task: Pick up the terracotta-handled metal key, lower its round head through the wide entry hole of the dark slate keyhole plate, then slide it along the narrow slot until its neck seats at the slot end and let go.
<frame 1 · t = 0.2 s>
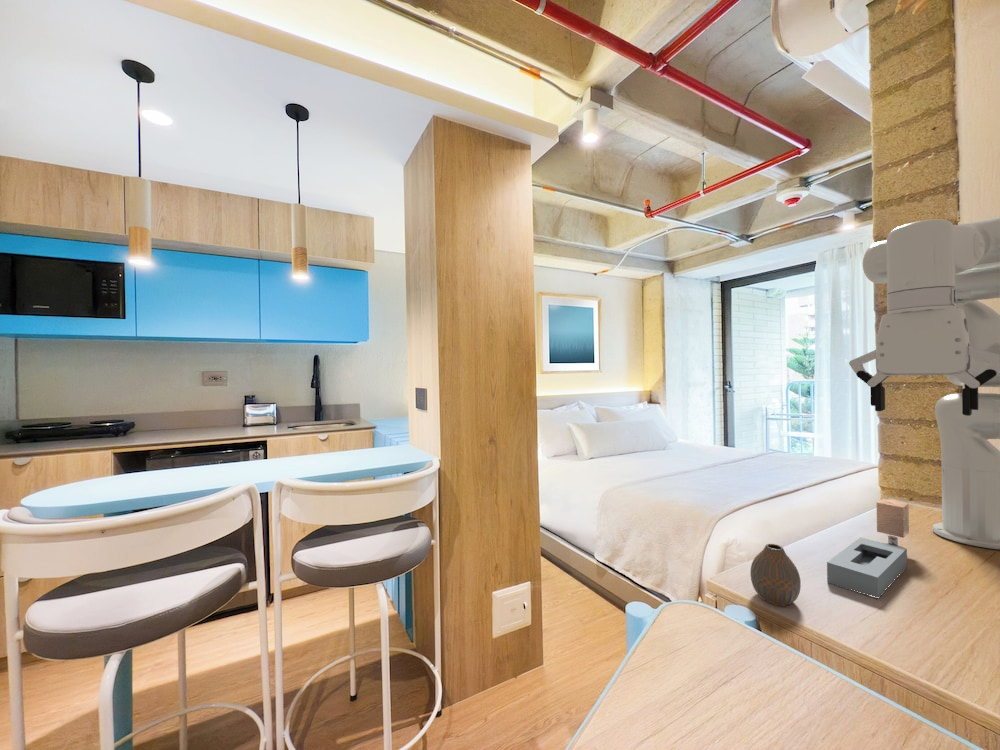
hand: (921, 412, 65), 31 cm above the table, tool pointing down, fingers open, 9 cm apart
key: (893, 551, 85), on the table
vase: (775, 600, 69), on the table
keyhole plate: (868, 574, 76), on the table
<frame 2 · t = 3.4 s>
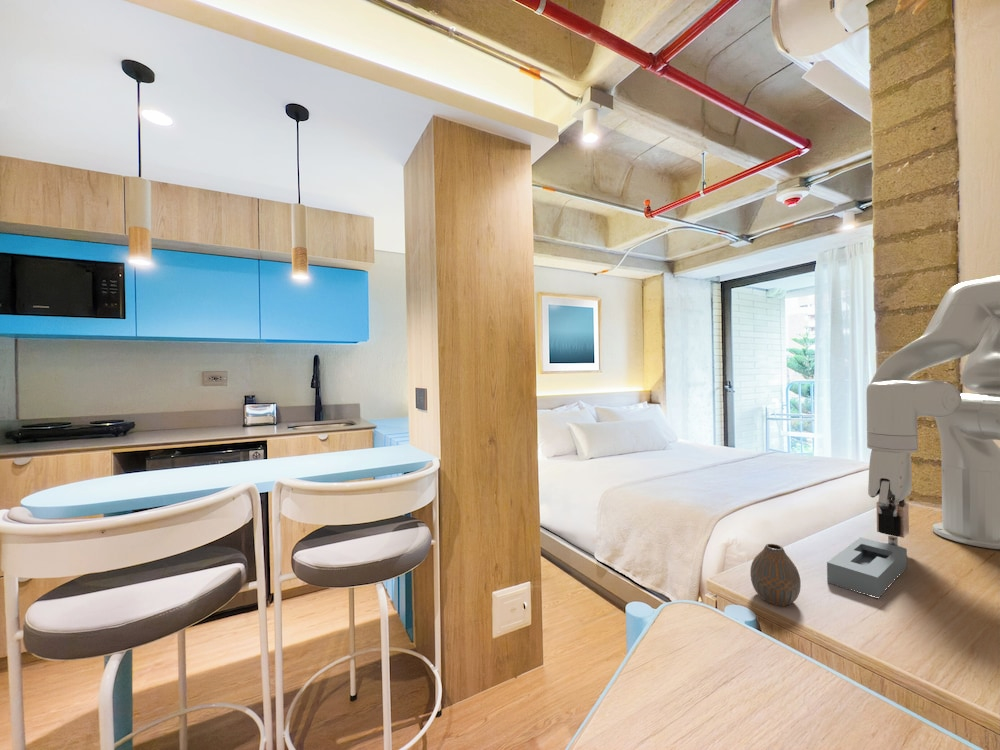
hand: (892, 530, 85), 4 cm above the table, tool pointing down, fingers closed on key, 4 cm apart
key: (893, 551, 85), on the table, touching gripper
everything else where it was.
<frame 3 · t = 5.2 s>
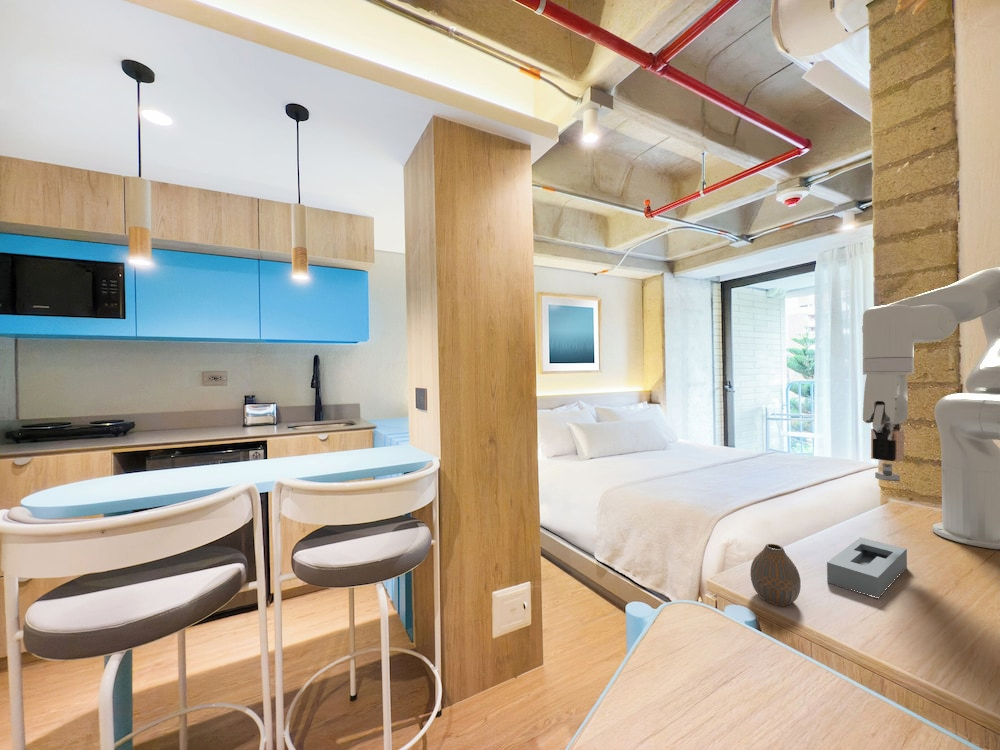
hand: (887, 457, 83), 20 cm above the table, tool pointing down, fingers closed on key, 4 cm apart
key: (887, 478, 84), point 15 cm above the table, touching gripper
everything else where it was.
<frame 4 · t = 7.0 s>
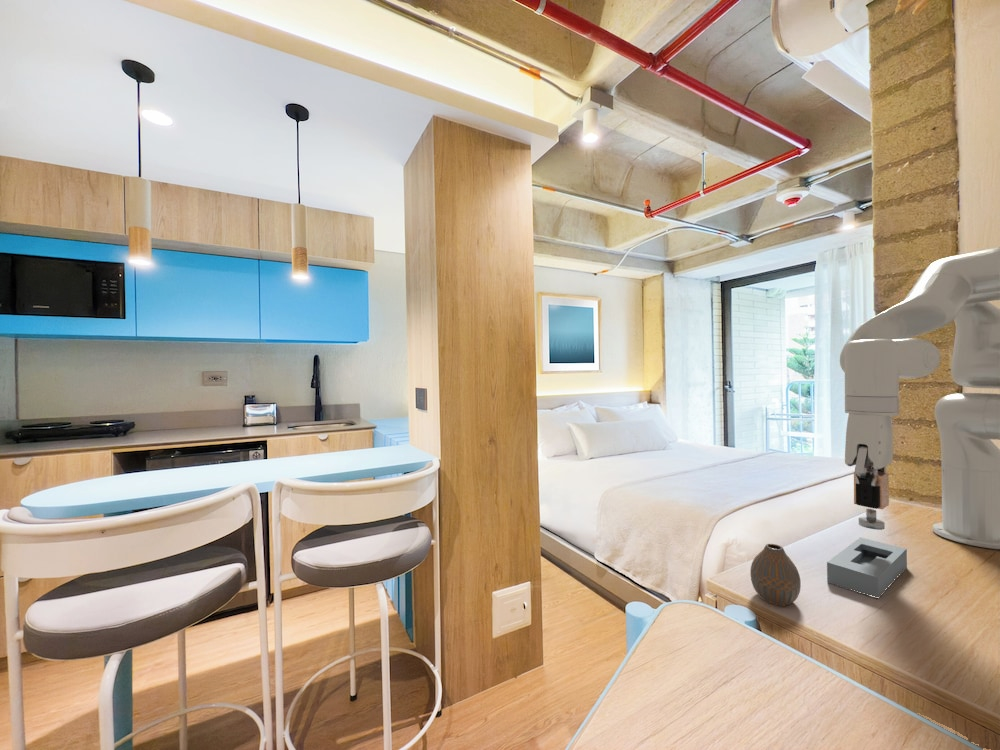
hand: (871, 503, 77), 13 cm above the table, tool pointing down, fingers closed on key, 4 cm apart
key: (871, 526, 77), point 8 cm above the table, touching gripper
everything else where it was.
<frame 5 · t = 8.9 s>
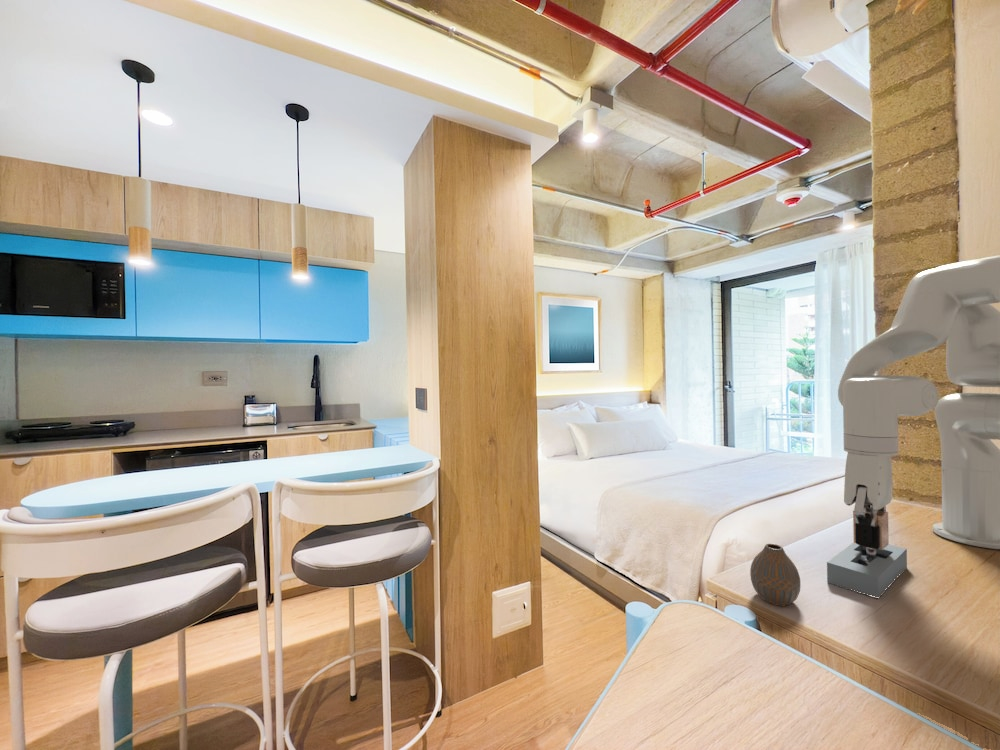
hand: (871, 542, 77), 6 cm above the table, tool pointing down, fingers closed on key, 4 cm apart
key: (871, 565, 77), point 1 cm above the table, touching gripper
everything else where it was.
when the fingers open (5 cm above the table, at t = 10.5 s): key stays where it is, resting on keyhole plate.
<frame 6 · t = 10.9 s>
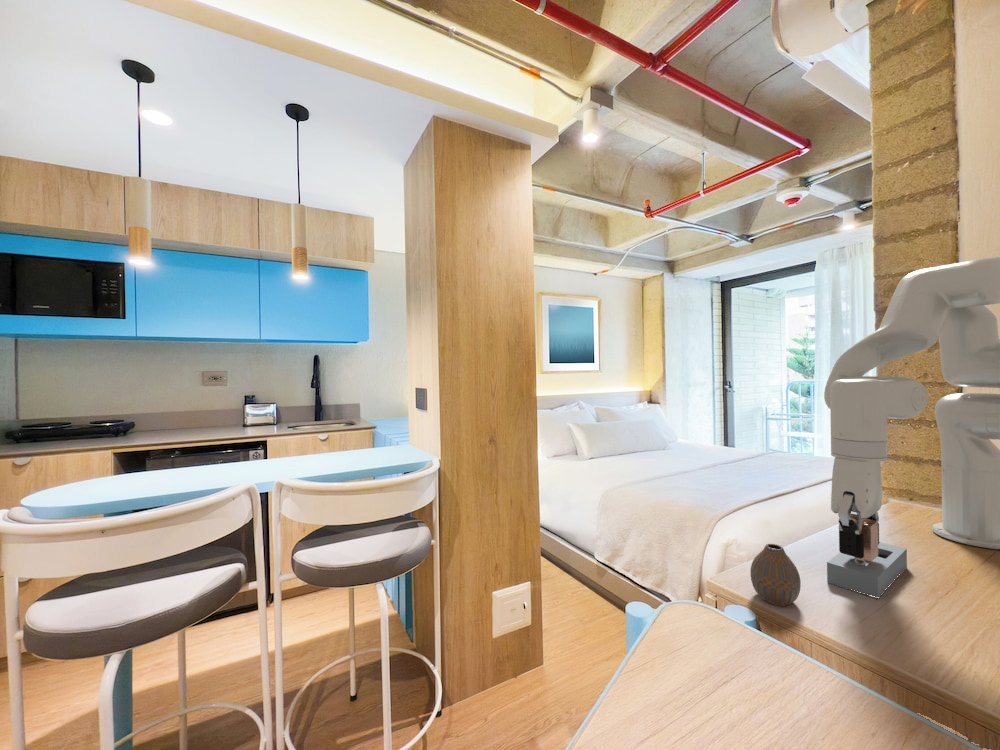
hand: (859, 548, 73), 6 cm above the table, tool pointing down, fingers open, 7 cm apart
key: (860, 576, 73), point 1 cm above the table, touching keyhole plate
everything else where it was.
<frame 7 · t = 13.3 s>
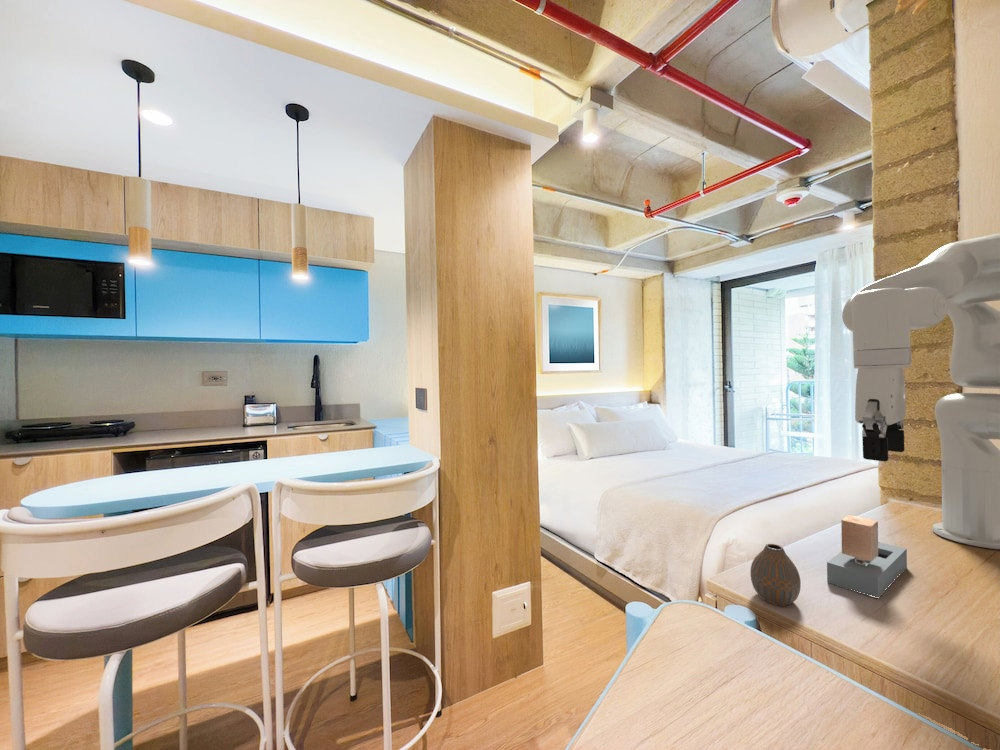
hand: (884, 455, 74), 22 cm above the table, tool pointing down, fingers open, 9 cm apart
nothing on the table moved.
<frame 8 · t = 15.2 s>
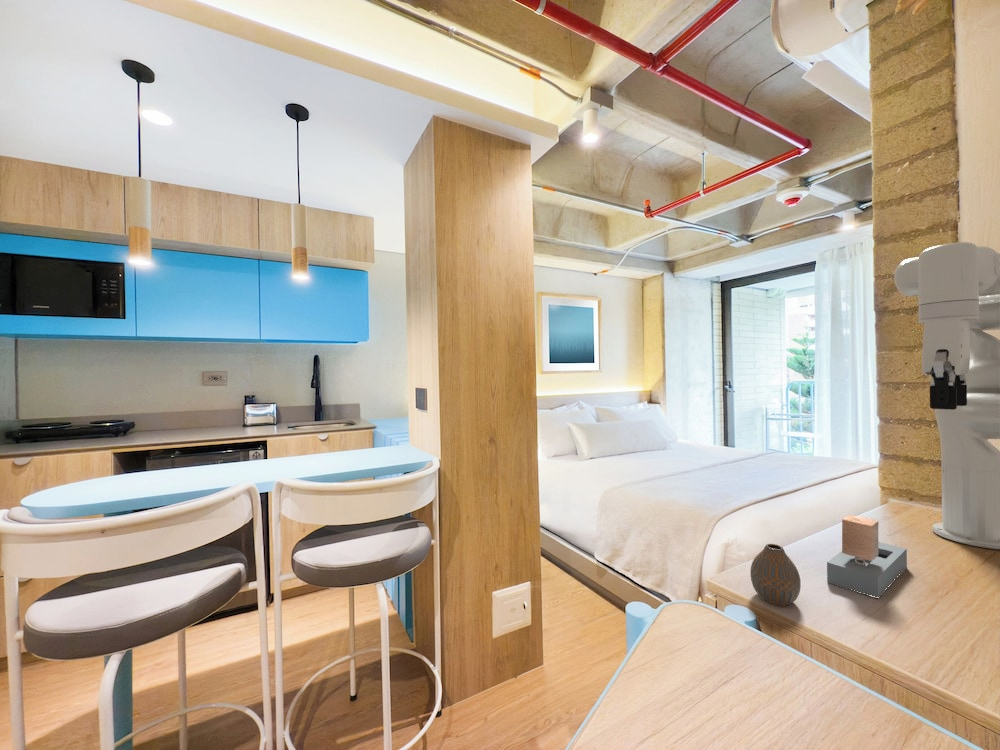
hand: (948, 407, 76), 30 cm above the table, tool pointing down, fingers open, 9 cm apart
nothing on the table moved.
at the end: key 0.1 cm from the target spot on the keyhole plate, point 1.0 cm above the keyhole plate's base; key tilted 1°; the gripper is holding nothing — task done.
